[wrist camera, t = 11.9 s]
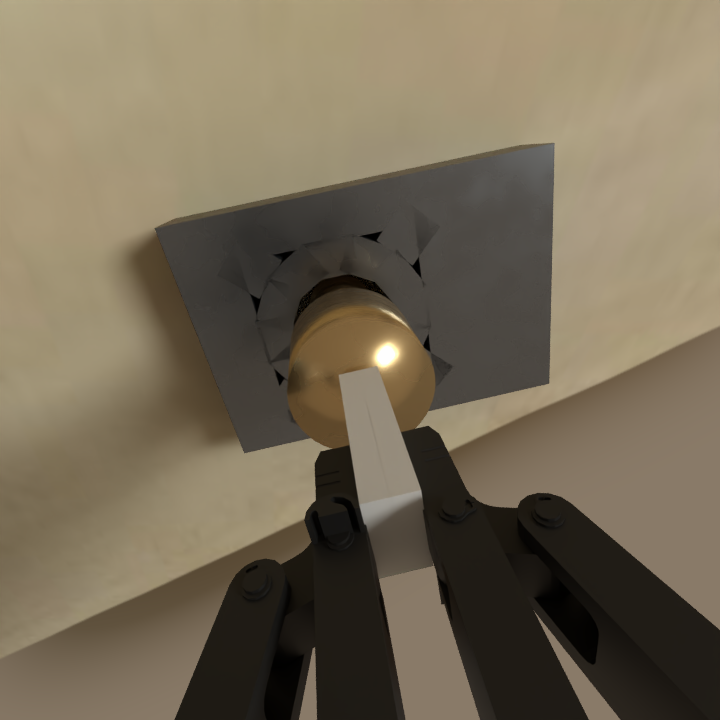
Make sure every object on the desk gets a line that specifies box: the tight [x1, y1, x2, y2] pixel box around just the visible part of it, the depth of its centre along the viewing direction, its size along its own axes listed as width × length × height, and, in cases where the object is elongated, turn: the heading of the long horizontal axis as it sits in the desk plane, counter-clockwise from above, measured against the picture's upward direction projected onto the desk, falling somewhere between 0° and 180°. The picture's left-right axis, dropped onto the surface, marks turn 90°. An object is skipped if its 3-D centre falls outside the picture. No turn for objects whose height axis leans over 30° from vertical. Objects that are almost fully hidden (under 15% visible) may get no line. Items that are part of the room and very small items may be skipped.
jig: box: [155, 143, 554, 453], centre depth 25 cm, size 20×14×4 cm
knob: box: [287, 275, 435, 449], centre depth 22 cm, size 6×6×11 cm
